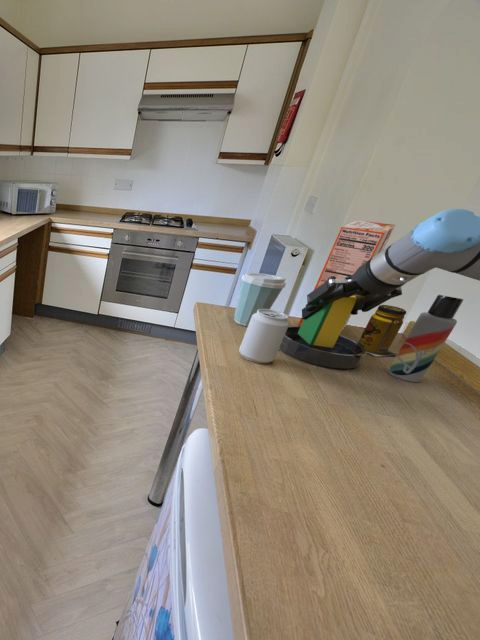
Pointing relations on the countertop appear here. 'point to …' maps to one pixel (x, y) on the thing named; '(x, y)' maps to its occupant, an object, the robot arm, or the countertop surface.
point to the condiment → (382, 330)
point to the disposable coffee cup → (256, 295)
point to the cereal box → (354, 250)
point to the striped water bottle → (425, 339)
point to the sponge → (327, 322)
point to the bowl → (323, 351)
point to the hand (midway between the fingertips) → (316, 316)
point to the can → (264, 335)
